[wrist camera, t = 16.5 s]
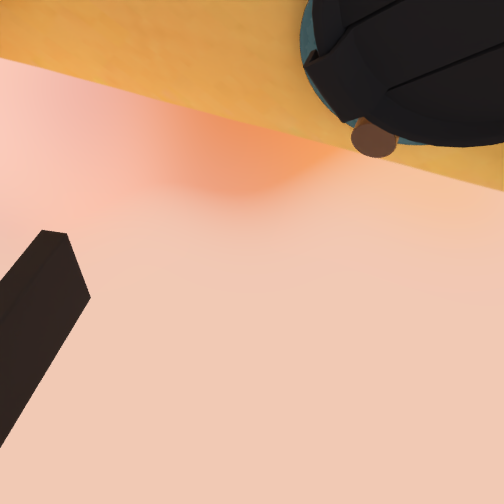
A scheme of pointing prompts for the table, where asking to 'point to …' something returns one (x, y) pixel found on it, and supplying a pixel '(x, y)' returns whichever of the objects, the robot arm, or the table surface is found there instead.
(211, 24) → the table surface
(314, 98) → the table surface
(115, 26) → the table surface
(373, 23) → the travel mug
